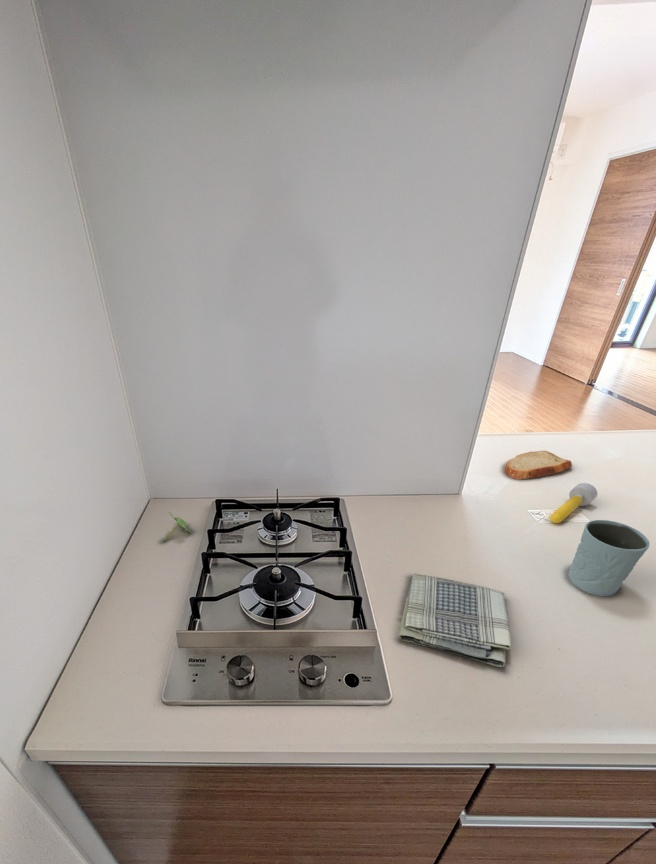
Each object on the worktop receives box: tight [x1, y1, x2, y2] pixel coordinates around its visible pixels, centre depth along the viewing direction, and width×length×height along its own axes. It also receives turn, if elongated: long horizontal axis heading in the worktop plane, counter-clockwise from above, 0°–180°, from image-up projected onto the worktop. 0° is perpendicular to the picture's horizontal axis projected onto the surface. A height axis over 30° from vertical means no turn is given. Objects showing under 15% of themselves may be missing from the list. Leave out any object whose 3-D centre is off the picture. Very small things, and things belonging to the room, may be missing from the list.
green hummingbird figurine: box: [162, 511, 192, 543], centre depth 104 cm, size 7×8×7 cm
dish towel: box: [398, 573, 512, 668], centre depth 80 cm, size 19×18×3 cm
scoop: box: [549, 482, 598, 524], centre depth 109 cm, size 5×5×17 cm
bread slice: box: [504, 450, 573, 481], centre depth 128 cm, size 18×18×4 cm
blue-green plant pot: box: [568, 519, 650, 597], centre depth 86 cm, size 10×10×12 cm
